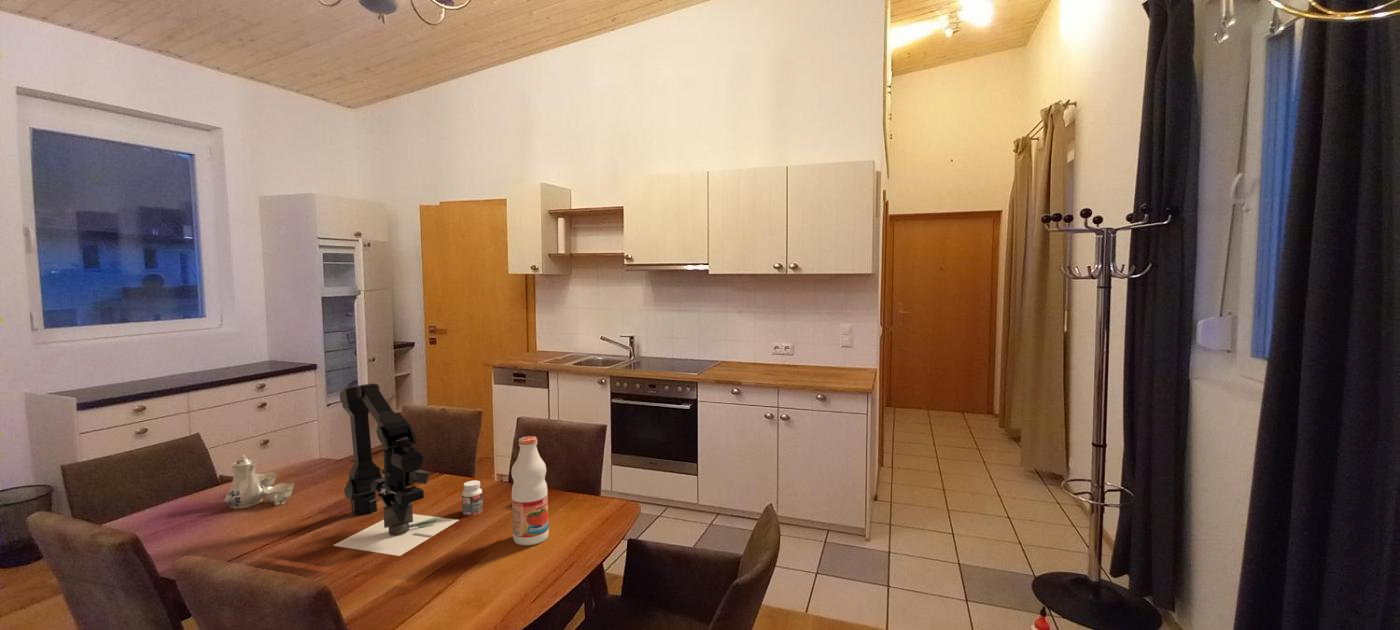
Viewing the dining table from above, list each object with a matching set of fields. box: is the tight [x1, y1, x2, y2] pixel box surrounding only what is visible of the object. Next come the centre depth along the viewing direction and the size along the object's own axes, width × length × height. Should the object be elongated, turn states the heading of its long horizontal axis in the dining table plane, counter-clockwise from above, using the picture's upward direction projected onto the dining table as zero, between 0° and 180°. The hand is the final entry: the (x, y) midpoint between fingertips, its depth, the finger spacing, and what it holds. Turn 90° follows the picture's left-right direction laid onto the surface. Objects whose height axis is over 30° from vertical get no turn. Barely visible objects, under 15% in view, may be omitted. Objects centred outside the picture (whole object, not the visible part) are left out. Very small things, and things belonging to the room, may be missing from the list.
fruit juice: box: [511, 435, 550, 546], centre depth 153 cm, size 9×9×28 cm
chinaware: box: [224, 453, 296, 510], centre depth 183 cm, size 28×17×17 cm, turn 57°
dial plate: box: [333, 513, 460, 557], centre depth 157 cm, size 22×22×1 cm
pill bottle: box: [461, 480, 484, 517], centre depth 170 cm, size 6×6×10 cm
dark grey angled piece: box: [382, 502, 436, 535], centre depth 158 cm, size 13×5×7 cm, turn 121°
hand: (398, 519), depth 157 cm, fingers closed on dark grey angled piece, 3 cm apart
